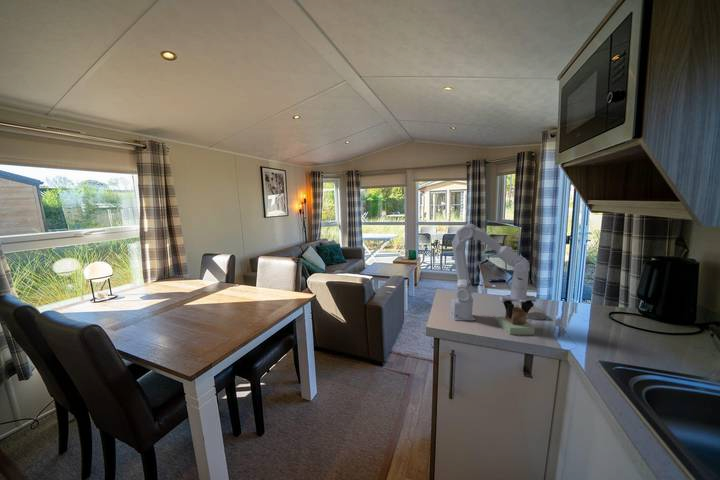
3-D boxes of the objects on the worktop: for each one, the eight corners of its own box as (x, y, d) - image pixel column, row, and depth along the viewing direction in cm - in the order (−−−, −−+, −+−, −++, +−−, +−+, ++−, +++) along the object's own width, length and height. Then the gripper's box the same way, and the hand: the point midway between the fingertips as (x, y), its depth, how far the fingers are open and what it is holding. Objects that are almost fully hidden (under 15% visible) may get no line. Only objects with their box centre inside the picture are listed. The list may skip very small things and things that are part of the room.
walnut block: (512, 323, 110) (513, 312, 109) (505, 317, 115) (506, 306, 114) (525, 323, 110) (526, 312, 109) (517, 317, 115) (518, 306, 114)
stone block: (526, 323, 120) (547, 319, 120) (524, 314, 120) (546, 310, 119) (511, 313, 132) (531, 309, 132) (510, 304, 132) (530, 300, 131)
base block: (509, 334, 108) (510, 327, 107) (497, 322, 118) (497, 316, 117) (534, 334, 108) (534, 327, 107) (519, 322, 117) (520, 316, 117)
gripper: (506, 290, 105) (504, 321, 108) (543, 290, 105) (539, 321, 108) (498, 284, 112) (495, 313, 115) (531, 284, 112) (528, 313, 115)
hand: (516, 317), depth 112 cm, fingers closed on walnut block, 5 cm apart
